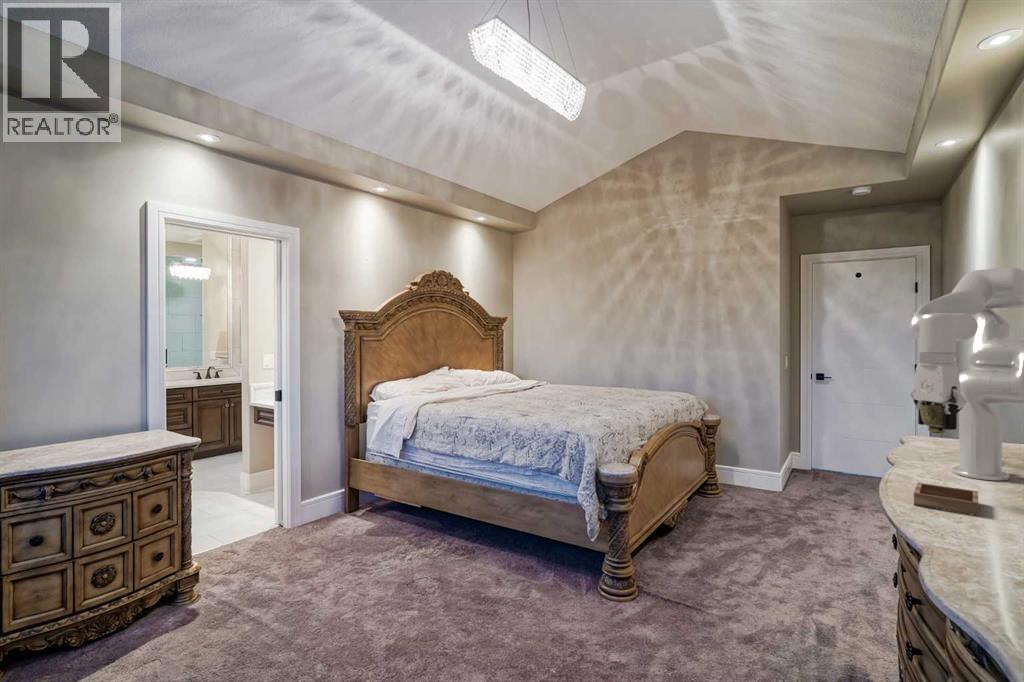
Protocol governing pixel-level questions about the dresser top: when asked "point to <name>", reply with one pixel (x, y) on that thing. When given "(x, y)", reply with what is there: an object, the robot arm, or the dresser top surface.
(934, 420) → the olive round vessel
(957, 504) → the box
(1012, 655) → the dresser top surface
